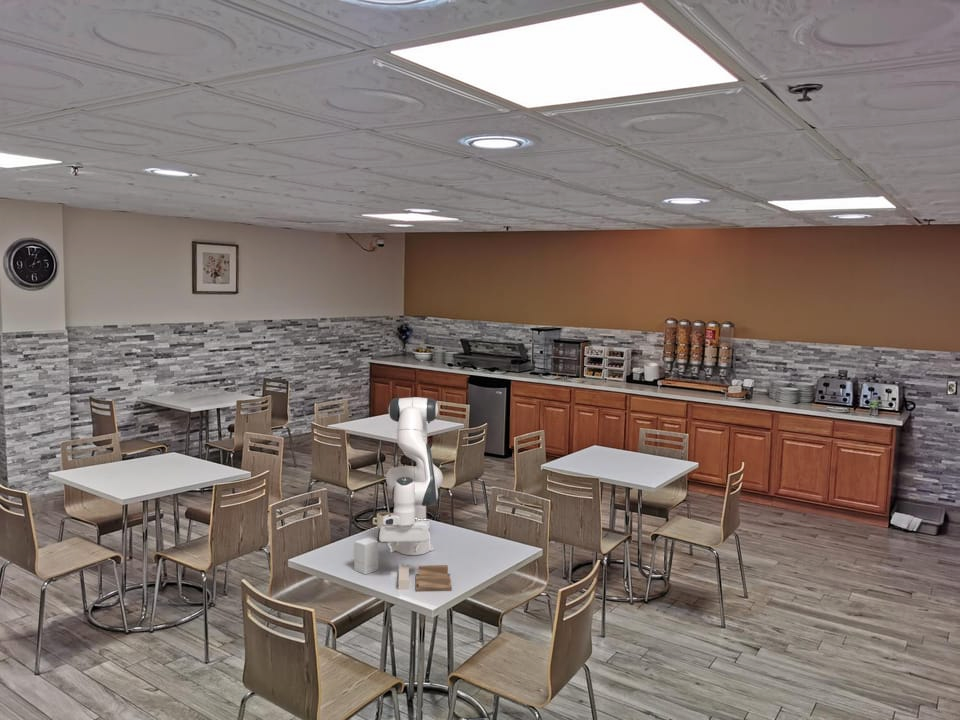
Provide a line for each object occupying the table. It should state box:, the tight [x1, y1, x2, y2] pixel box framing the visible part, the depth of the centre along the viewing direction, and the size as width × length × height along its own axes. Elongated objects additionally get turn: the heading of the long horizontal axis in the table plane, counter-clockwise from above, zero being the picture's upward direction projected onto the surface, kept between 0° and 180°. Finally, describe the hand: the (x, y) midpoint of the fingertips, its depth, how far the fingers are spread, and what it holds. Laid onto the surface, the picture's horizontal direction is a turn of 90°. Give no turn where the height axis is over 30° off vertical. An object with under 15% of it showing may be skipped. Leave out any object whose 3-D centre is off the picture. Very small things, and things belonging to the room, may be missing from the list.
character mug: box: [372, 511, 392, 542], centre depth 338 cm, size 11×7×13 cm, turn 97°
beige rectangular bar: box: [397, 565, 410, 590], centre depth 288 cm, size 16×4×4 cm, turn 6°
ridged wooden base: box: [415, 564, 453, 592], centre depth 287 cm, size 15×14×5 cm
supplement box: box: [353, 537, 379, 575], centre depth 300 cm, size 7×7×13 cm
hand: (403, 551), depth 288 cm, fingers open, 8 cm apart
